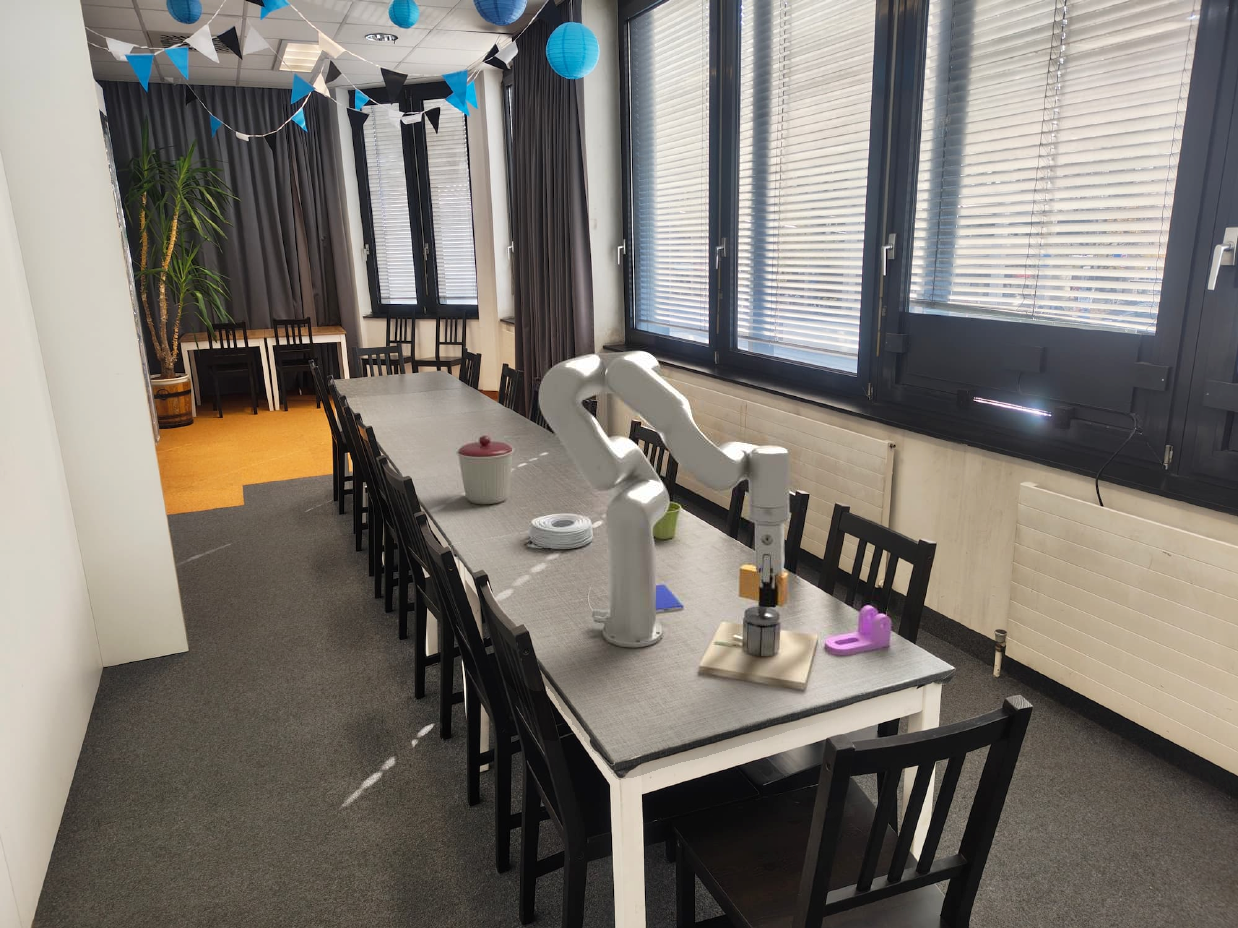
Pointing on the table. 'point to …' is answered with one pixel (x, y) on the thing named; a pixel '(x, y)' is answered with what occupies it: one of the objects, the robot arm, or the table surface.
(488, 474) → the canister
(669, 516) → the plant pot
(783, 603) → the motor
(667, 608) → the hard drive
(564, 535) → the cable
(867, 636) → the bracket
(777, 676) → the post plate
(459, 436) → the table surface
